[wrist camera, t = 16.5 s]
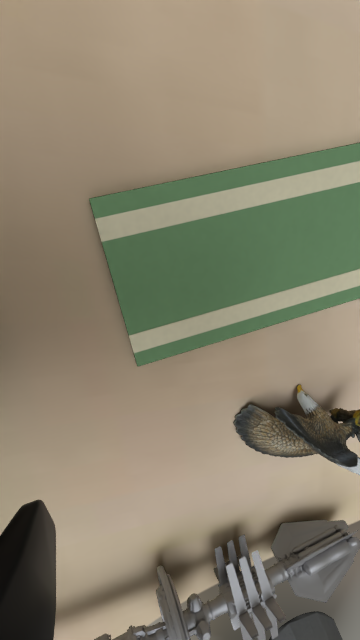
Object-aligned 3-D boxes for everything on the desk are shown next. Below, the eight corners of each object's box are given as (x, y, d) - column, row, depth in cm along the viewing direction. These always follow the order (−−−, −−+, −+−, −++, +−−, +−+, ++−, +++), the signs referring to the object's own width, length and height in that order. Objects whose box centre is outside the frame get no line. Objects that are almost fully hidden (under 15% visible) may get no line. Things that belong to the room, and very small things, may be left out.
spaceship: (-187, 820, 14) (-152, 1000, 14) (381, 510, 24) (406, 610, 24) (-90, 654, 21) (-66, 768, 21) (312, 472, 32) (330, 548, 32)
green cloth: (136, 362, 20) (137, 367, 19) (89, 199, 16) (89, 198, 16) (393, 284, 23) (402, 285, 23) (401, 134, 20) (411, 132, 19)
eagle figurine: (357, 352, 23) (260, 378, 19) (436, 446, 19) (333, 502, 15) (303, 398, 28) (220, 426, 25) (355, 479, 24) (266, 525, 21)
